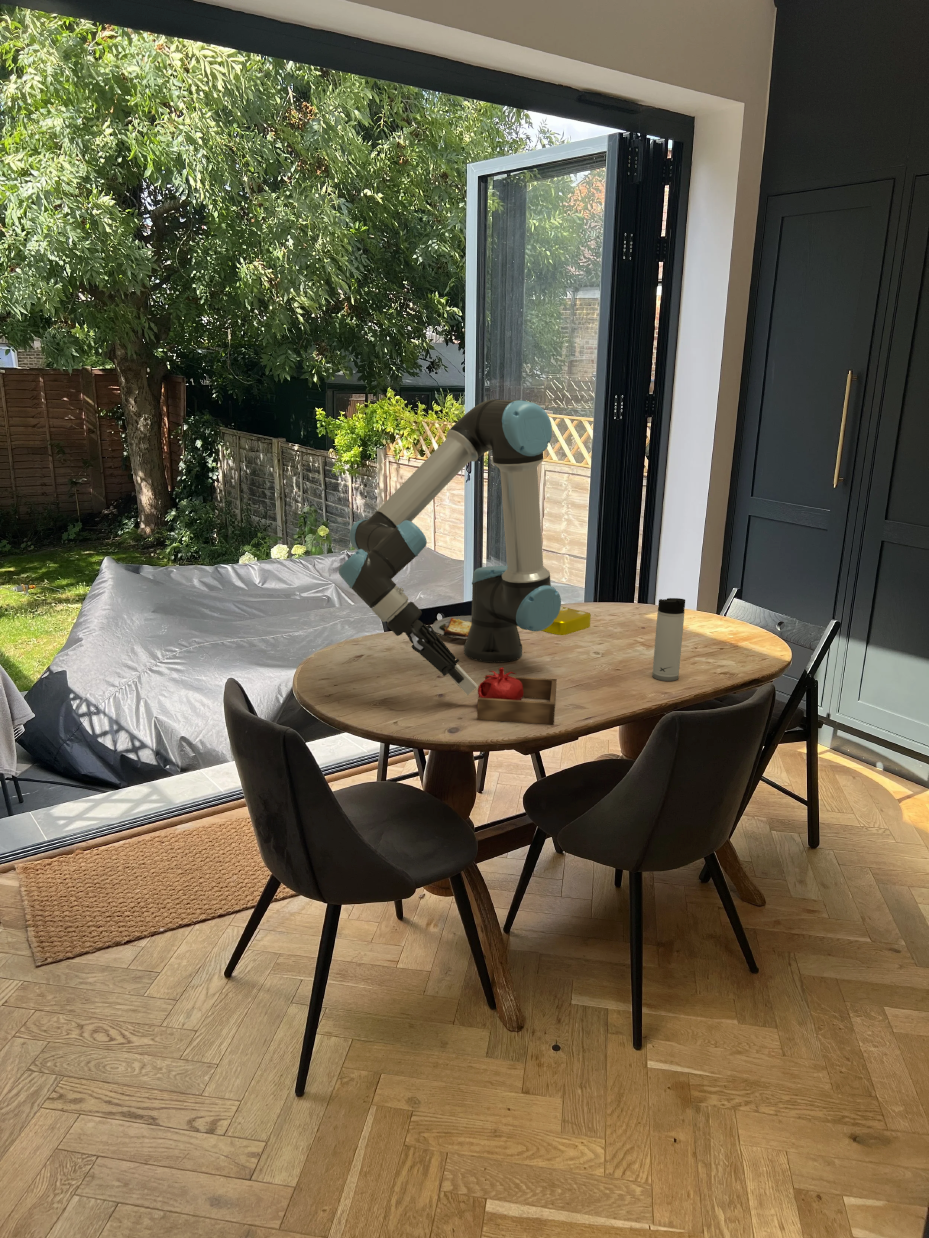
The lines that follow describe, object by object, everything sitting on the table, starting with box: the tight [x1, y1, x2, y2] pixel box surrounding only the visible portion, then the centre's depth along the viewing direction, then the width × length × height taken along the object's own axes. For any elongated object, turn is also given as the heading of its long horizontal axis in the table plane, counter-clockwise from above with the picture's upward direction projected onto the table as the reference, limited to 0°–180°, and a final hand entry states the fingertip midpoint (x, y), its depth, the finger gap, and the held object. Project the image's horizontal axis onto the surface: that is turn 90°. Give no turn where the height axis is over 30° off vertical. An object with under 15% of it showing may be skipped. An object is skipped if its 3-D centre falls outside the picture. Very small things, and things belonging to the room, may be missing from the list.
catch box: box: [476, 674, 557, 725], centre depth 192 cm, size 16×16×4 cm
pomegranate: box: [477, 667, 523, 700], centre depth 192 cm, size 10×10×9 cm
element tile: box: [540, 605, 592, 636], centre depth 258 cm, size 15×15×5 cm
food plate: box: [431, 615, 472, 641], centre depth 248 cm, size 25×23×4 cm
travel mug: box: [651, 597, 686, 682], centre depth 212 cm, size 6×7×20 cm
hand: (472, 690), depth 193 cm, fingers closed
